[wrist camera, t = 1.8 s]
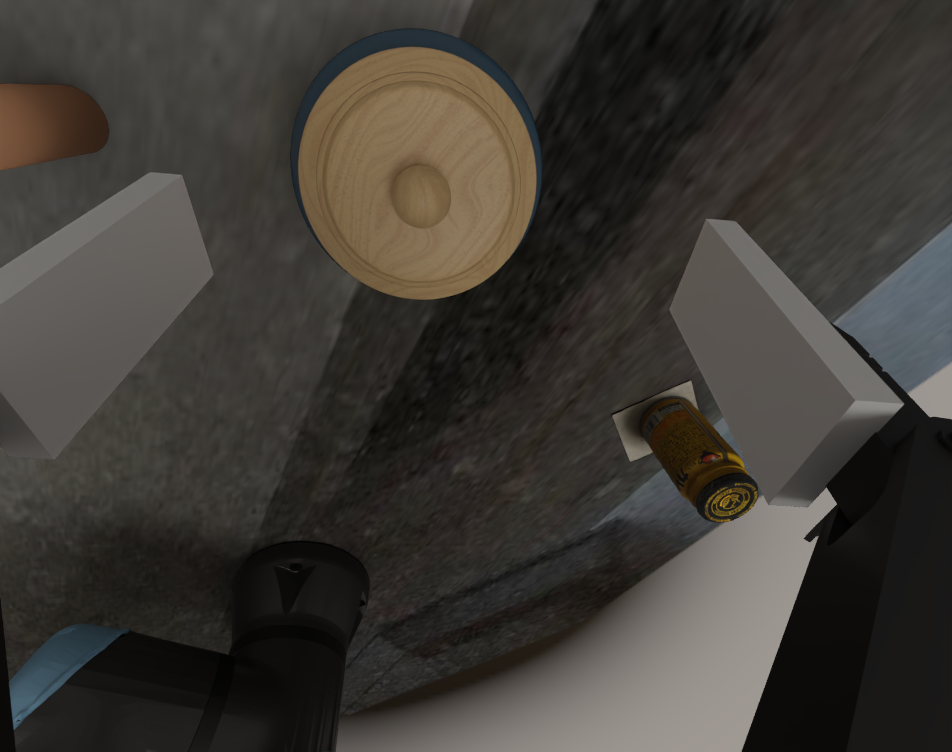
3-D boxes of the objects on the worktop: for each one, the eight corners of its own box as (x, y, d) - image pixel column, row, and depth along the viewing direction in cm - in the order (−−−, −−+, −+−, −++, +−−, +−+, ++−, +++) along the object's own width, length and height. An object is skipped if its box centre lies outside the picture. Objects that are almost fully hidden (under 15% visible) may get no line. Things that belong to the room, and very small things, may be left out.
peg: (87, 166, 33) (-60, 199, 23) (26, 115, 31) (-163, 127, 21) (121, 124, 32) (-16, 140, 22) (60, 69, 30) (-121, 58, 20)
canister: (402, 274, 40) (394, 388, 24) (286, 127, 33) (181, 156, 18) (537, 180, 37) (622, 242, 22) (440, 1, 31) (465, -86, 16)
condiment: (703, 429, 52) (774, 513, 42) (629, 460, 53) (681, 549, 43) (689, 379, 48) (764, 456, 38) (610, 413, 49) (662, 497, 39)
